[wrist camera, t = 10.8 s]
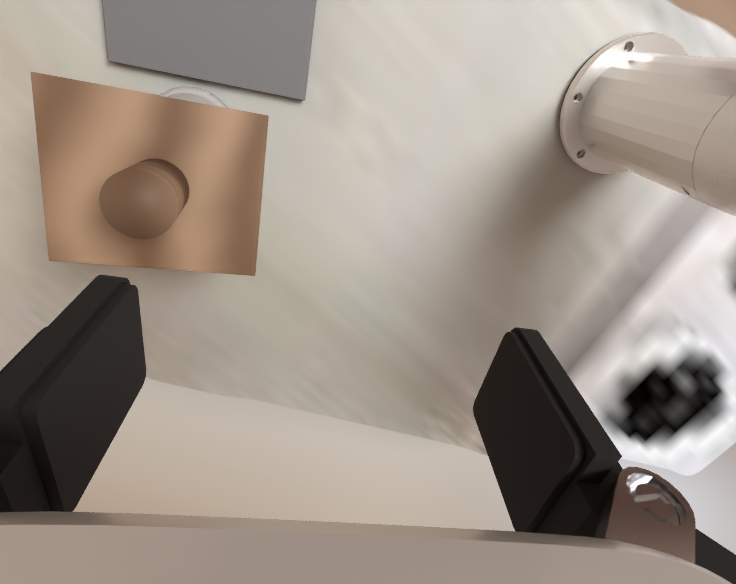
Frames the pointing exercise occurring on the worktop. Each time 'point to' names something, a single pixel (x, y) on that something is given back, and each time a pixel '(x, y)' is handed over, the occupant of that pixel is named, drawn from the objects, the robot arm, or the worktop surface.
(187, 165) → the walnut lid
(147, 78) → the worktop surface
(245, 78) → the grey flat slab
